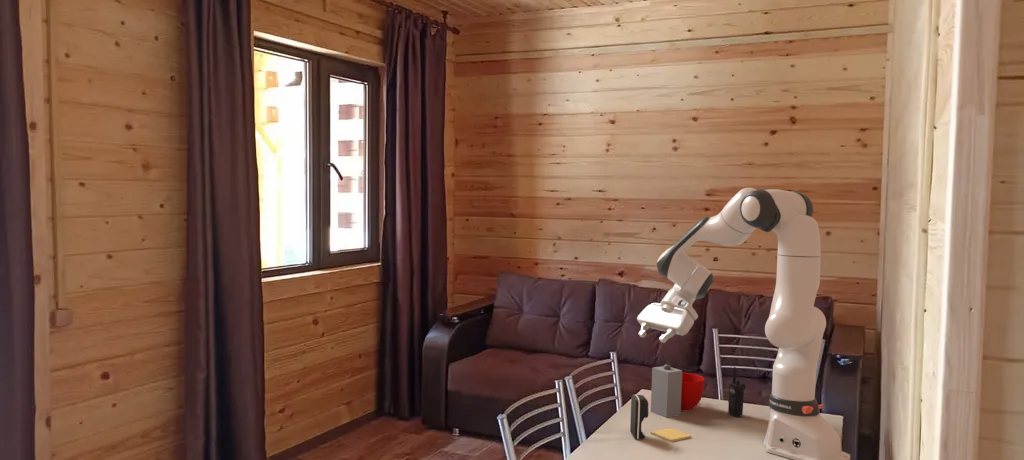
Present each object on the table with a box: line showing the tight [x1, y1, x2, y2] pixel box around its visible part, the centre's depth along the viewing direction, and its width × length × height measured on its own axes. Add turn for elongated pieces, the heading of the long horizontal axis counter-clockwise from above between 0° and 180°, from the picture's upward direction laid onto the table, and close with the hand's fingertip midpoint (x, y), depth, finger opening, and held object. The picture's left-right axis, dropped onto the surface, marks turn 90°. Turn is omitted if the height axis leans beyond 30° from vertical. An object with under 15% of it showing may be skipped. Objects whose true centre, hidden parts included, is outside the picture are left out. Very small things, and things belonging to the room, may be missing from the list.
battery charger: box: [629, 394, 649, 440], centre depth 213 cm, size 7×4×11 cm, turn 3°
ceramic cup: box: [681, 372, 706, 412], centre depth 245 cm, size 13×17×10 cm
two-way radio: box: [727, 366, 746, 418], centre depth 237 cm, size 6×4×15 cm
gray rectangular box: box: [650, 364, 683, 418], centre depth 237 cm, size 7×6×15 cm
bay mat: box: [650, 427, 692, 443], centre depth 215 cm, size 8×8×1 cm
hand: (651, 338), depth 241 cm, fingers open, 8 cm apart
